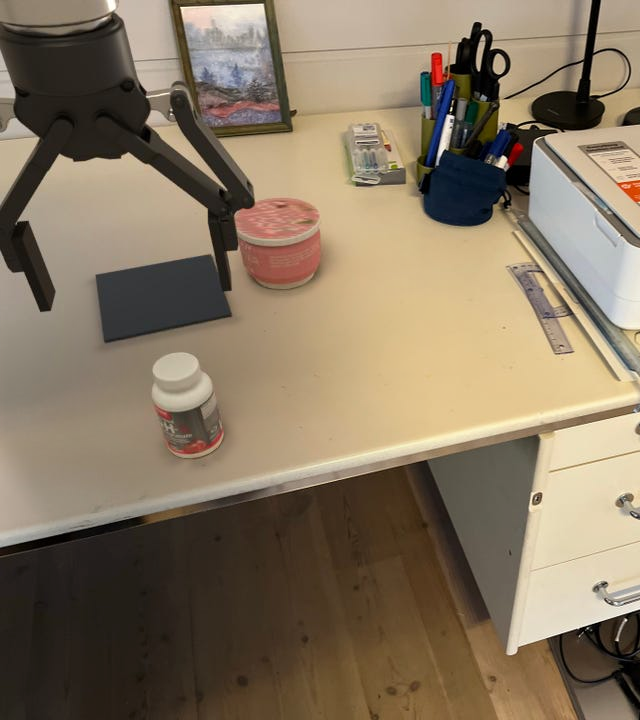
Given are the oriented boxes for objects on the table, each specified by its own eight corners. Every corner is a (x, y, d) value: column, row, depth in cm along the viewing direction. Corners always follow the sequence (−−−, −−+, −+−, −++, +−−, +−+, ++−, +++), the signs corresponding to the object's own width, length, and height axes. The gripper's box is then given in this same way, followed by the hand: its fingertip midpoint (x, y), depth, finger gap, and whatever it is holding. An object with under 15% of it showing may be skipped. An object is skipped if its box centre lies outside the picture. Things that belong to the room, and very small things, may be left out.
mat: (104, 342, 85) (103, 340, 84) (96, 277, 94) (95, 274, 94) (231, 316, 89) (231, 313, 89) (211, 256, 99) (210, 253, 99)
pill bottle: (158, 457, 72) (133, 382, 66) (179, 418, 76) (157, 344, 70) (213, 462, 72) (194, 387, 66) (232, 423, 76) (215, 349, 70)
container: (323, 295, 94) (317, 239, 88) (236, 296, 92) (226, 240, 87) (328, 250, 101) (323, 196, 96) (248, 250, 100) (239, 196, 95)
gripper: (258, -5, 53) (292, 251, 67) (-151, 4, 47) (-22, 283, 61) (264, 28, 48) (300, 300, 61) (-198, 43, 42) (-44, 340, 55)
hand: (139, 292), depth 61 cm, fingers open, 13 cm apart
